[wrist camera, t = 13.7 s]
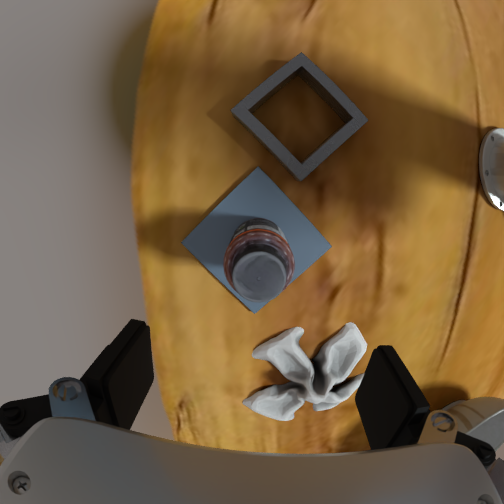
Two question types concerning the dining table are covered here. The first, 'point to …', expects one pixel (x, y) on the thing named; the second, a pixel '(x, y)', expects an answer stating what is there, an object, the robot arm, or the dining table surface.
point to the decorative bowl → (480, 418)
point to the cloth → (308, 372)
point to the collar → (324, 90)
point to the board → (249, 207)
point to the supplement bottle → (258, 260)
